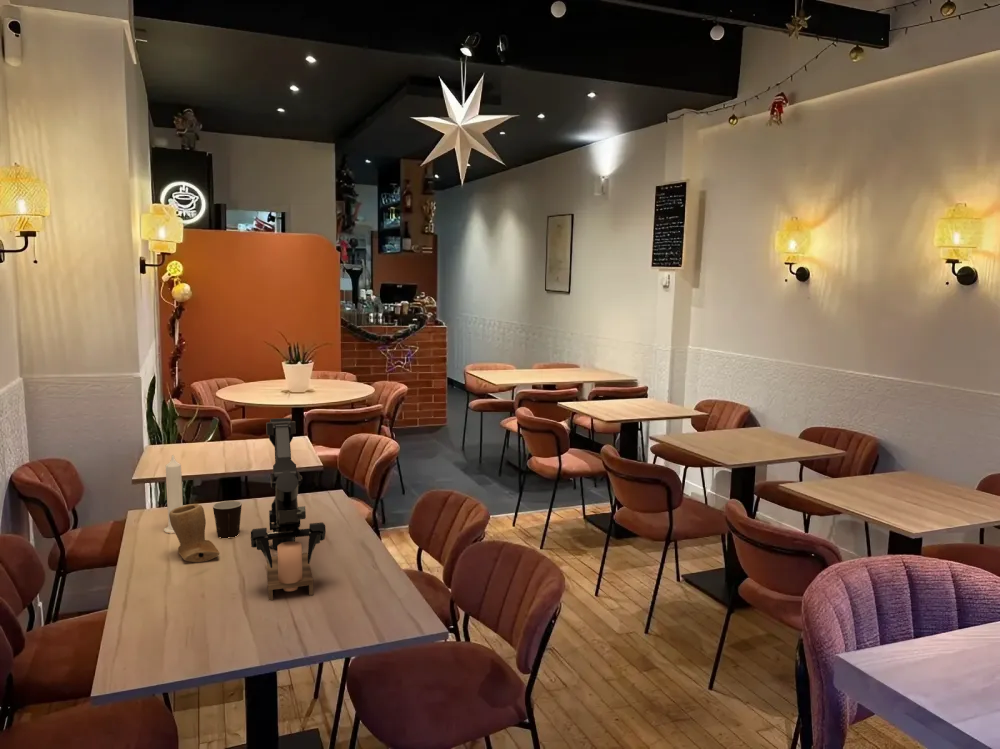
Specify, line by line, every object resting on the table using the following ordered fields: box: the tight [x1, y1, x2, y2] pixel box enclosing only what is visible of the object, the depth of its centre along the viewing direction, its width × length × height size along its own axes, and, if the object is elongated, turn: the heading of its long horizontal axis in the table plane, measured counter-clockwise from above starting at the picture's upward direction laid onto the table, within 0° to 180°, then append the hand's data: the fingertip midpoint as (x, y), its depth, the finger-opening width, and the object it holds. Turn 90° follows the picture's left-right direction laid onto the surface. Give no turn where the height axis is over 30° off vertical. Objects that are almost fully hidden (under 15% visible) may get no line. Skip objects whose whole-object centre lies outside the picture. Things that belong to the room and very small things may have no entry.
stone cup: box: [169, 503, 220, 563], centre depth 209 cm, size 15×12×15 cm
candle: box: [163, 454, 184, 533], centre depth 229 cm, size 7×7×25 cm
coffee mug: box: [212, 500, 242, 539], centre depth 225 cm, size 12×9×10 cm
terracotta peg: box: [276, 540, 303, 592], centre depth 184 cm, size 6×6×12 cm
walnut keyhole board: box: [266, 552, 314, 601], centre depth 191 cm, size 20×11×4 cm, turn 19°
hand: (290, 565), depth 183 cm, fingers open, 9 cm apart
